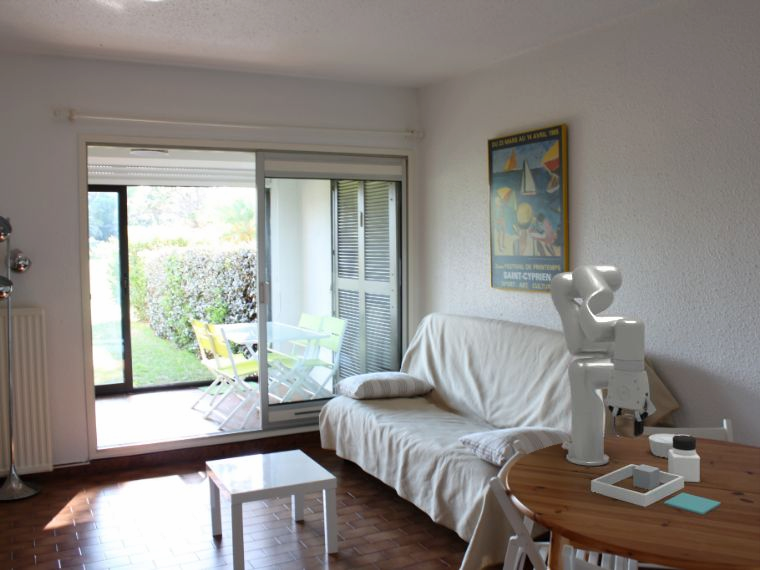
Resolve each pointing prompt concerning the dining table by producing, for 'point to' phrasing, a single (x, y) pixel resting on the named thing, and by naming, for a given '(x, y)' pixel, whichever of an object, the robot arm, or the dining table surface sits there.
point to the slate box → (646, 477)
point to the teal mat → (692, 503)
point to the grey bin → (606, 488)
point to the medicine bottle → (684, 458)
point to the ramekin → (661, 444)
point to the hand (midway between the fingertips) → (628, 432)
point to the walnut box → (625, 425)
